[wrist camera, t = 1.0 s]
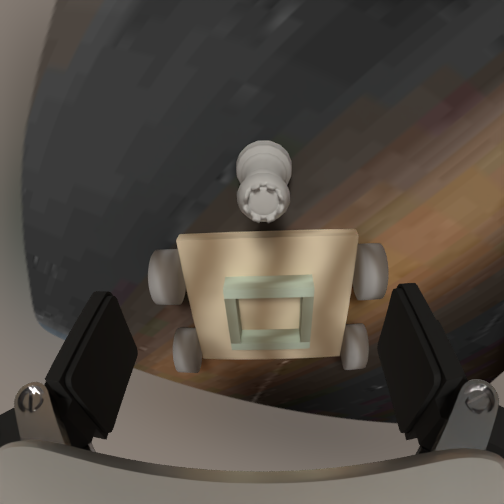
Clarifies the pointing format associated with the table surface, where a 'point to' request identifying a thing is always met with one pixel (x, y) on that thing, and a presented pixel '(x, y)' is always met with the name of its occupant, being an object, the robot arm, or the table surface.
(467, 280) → the table surface
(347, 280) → the car chassis
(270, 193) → the rook chess piece
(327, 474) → the robot arm
